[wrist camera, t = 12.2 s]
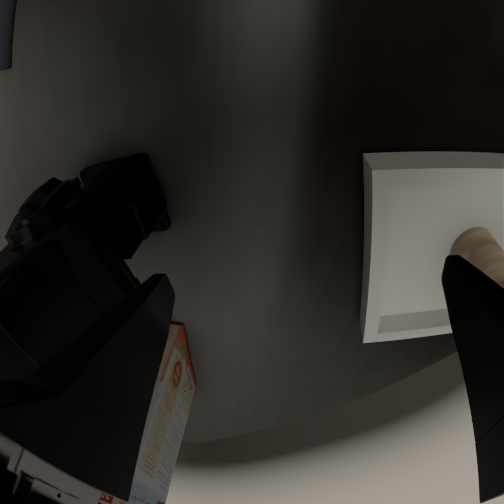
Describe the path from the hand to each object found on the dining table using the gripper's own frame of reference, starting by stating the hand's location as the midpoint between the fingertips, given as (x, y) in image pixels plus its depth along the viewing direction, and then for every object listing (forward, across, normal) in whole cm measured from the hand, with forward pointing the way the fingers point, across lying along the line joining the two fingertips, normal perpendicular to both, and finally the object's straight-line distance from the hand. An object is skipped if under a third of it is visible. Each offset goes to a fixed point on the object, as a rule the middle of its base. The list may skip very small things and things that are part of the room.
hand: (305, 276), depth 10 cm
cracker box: (+13, +18, +23) cm, 32 cm away
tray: (+13, -12, +9) cm, 20 cm away
